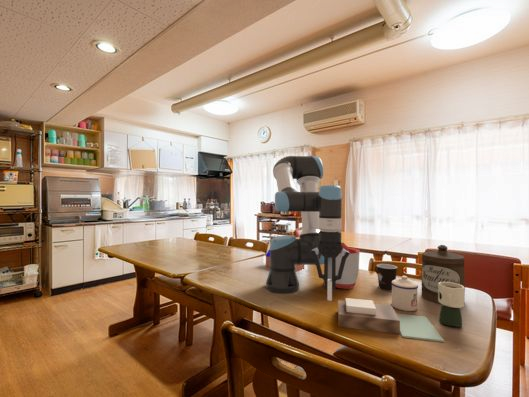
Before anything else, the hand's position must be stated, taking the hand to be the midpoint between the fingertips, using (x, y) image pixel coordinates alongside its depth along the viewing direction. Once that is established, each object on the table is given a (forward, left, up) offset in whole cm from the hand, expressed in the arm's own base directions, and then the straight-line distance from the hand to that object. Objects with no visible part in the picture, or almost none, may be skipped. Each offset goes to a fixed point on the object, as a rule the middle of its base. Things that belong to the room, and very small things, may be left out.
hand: (329, 299), depth 94 cm
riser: (+12, 0, -7) cm, 14 cm away
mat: (+27, 0, -7) cm, 28 cm away
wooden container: (+45, +30, -7) cm, 55 cm away
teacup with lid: (+28, +18, -7) cm, 34 cm away
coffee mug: (+25, +39, -7) cm, 47 cm away
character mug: (+39, +5, -7) cm, 40 cm away
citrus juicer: (+5, +37, -7) cm, 38 cm away
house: (-26, +60, -7) cm, 66 cm away
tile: (+10, 0, -3) cm, 10 cm away
